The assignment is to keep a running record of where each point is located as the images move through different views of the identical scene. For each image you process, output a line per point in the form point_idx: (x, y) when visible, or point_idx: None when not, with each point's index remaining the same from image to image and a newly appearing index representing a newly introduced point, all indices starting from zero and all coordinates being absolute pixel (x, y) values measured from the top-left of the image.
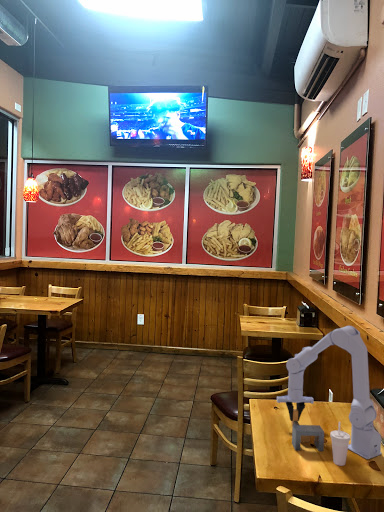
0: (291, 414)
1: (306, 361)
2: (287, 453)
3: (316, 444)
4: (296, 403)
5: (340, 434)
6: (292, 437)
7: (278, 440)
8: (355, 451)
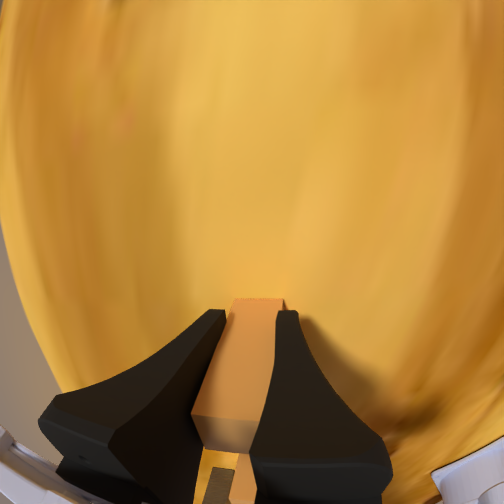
0: None
1: None
2: (195, 488)
3: None
4: (257, 444)
5: None
6: (206, 494)
7: None
8: (438, 486)
